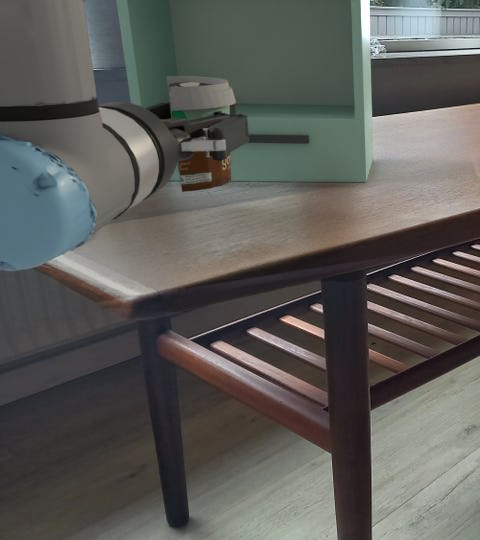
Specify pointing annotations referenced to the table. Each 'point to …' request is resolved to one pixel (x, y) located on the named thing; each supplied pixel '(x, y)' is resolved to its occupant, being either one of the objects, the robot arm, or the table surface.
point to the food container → (193, 107)
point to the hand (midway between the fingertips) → (200, 116)
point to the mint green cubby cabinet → (266, 77)
